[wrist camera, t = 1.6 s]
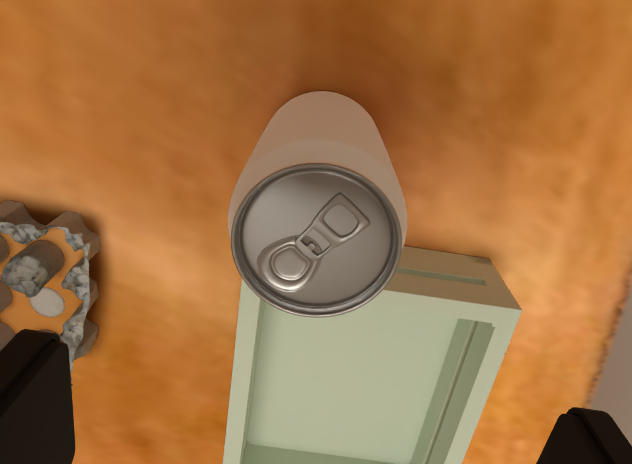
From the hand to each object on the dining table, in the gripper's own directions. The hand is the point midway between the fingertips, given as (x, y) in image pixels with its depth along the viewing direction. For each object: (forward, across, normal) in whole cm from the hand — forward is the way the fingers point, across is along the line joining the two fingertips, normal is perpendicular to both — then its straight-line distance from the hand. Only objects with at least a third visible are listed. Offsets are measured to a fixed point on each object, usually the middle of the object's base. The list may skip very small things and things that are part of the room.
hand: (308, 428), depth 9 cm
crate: (+19, -4, +14) cm, 24 cm away
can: (+20, 0, 0) cm, 20 cm away
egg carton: (+20, +16, +11) cm, 28 cm away
